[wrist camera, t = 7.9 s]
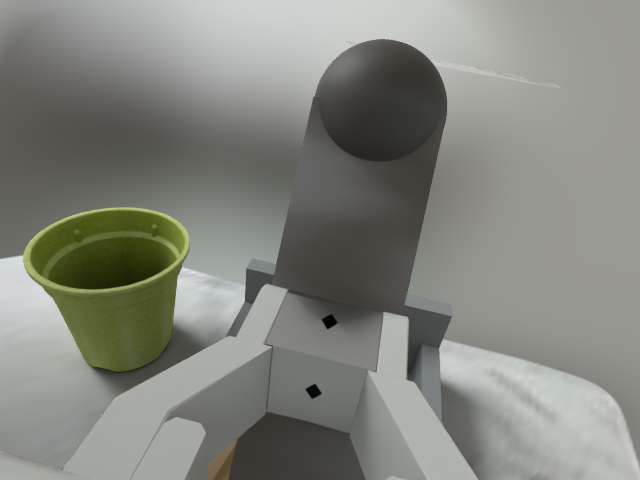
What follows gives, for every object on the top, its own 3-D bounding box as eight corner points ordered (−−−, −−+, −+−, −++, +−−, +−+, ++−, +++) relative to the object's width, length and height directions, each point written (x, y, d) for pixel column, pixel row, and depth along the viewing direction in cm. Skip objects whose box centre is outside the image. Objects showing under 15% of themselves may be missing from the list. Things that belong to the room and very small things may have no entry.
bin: (162, 506, 23) (151, 429, 19) (248, 329, 34) (252, 258, 30) (424, 583, 22) (469, 516, 18) (424, 372, 33) (450, 304, 29)
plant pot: (40, 323, 32) (10, 225, 27) (165, 284, 37) (158, 195, 33) (73, 419, 26) (41, 314, 22) (215, 356, 32) (214, 261, 27)
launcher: (27, 752, 9) (202, -22, 9) (227, 451, 23) (296, 142, 23) (428, 899, 8) (614, 47, 8) (385, 494, 22) (456, 174, 22)
